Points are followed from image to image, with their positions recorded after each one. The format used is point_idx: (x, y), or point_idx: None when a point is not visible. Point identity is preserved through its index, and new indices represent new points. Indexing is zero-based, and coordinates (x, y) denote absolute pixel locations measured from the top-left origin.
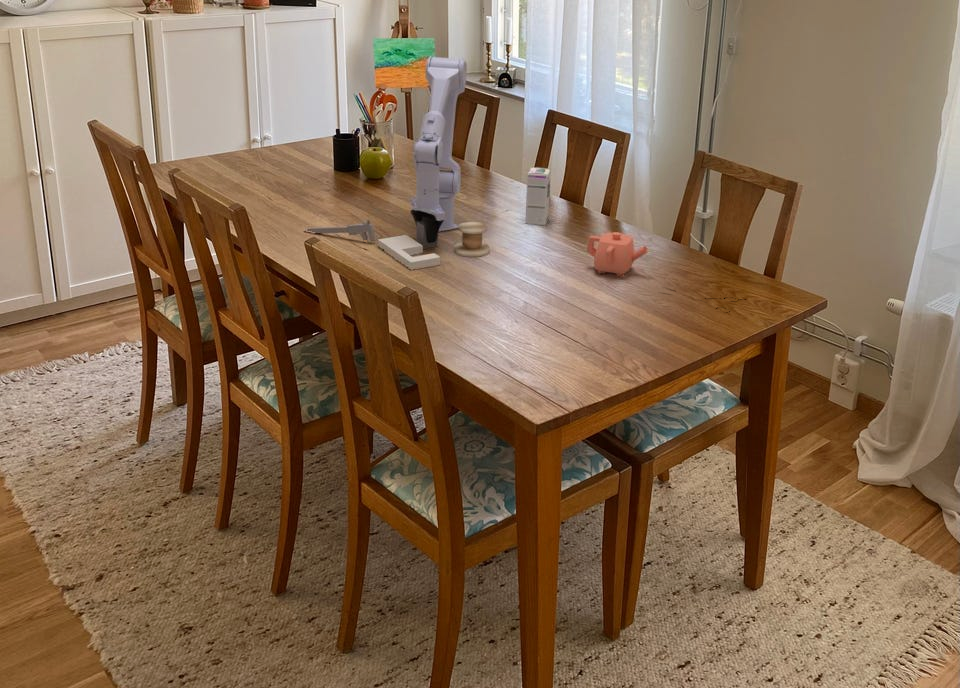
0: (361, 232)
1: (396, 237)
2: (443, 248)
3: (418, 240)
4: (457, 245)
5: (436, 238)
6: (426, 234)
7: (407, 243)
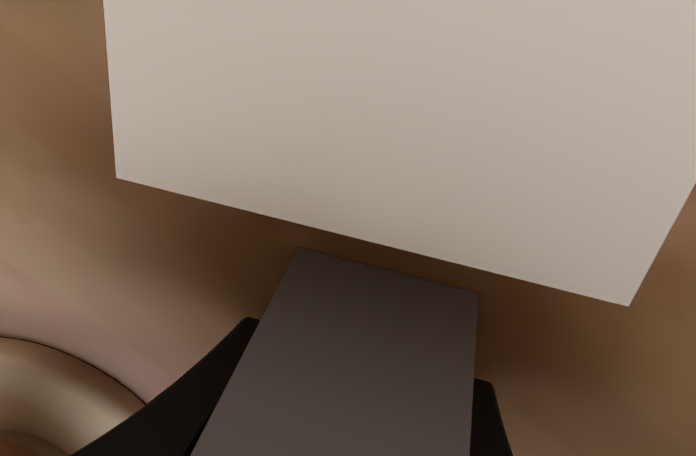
0: None
1: (668, 119)
2: None
3: (426, 315)
4: None
5: None
6: (216, 384)
7: (300, 70)
